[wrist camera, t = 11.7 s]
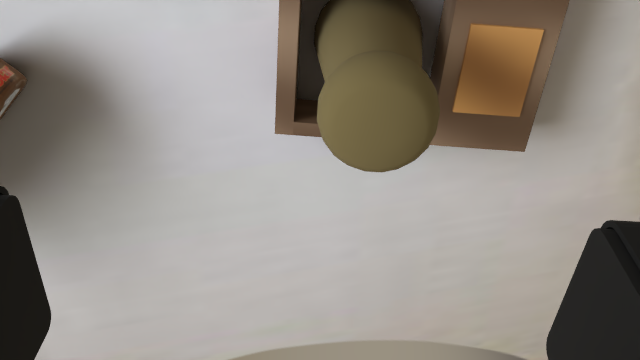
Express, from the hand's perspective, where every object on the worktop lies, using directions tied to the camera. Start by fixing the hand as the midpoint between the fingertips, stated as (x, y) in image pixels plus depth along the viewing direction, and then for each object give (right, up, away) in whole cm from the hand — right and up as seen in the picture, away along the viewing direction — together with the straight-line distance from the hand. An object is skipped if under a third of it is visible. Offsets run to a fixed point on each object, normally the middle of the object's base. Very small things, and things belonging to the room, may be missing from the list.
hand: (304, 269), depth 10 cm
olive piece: (+3, +10, +23) cm, 25 cm away
